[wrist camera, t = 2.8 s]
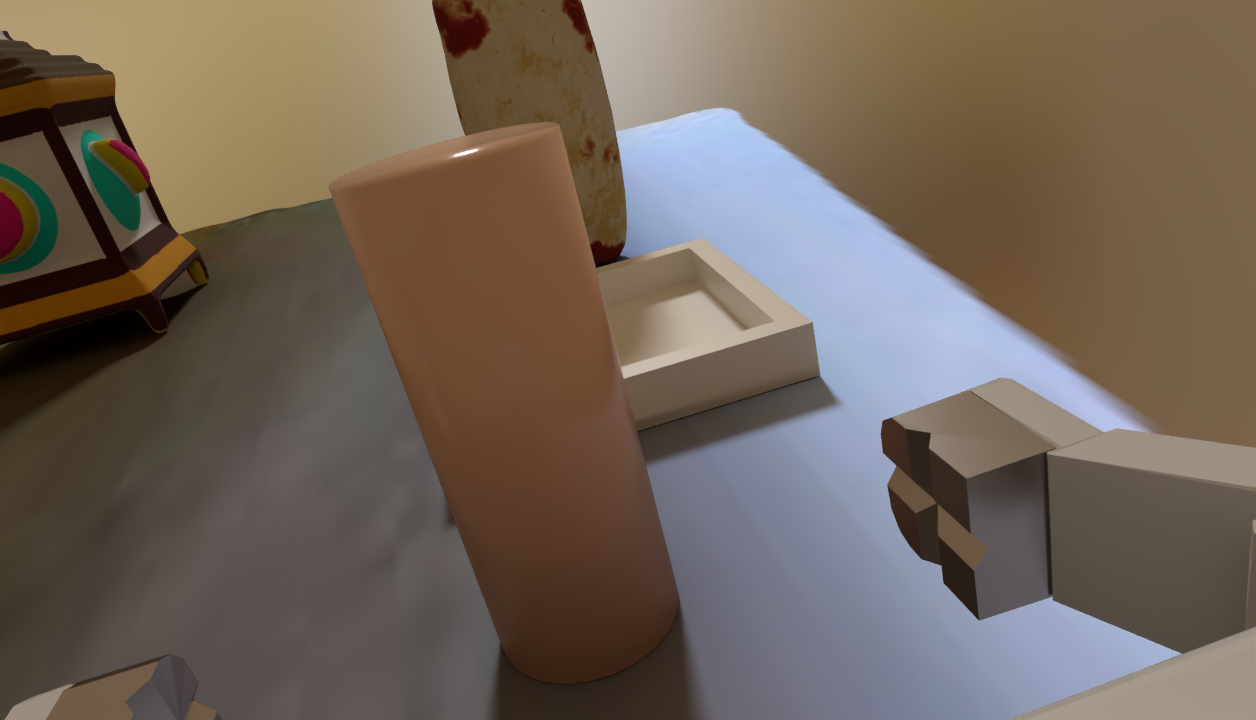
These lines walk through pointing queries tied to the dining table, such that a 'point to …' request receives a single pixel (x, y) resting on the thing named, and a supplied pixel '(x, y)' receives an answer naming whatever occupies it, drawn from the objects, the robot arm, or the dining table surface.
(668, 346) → the bin
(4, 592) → the dining table surface
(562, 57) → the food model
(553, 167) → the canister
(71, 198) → the decorative lantern
